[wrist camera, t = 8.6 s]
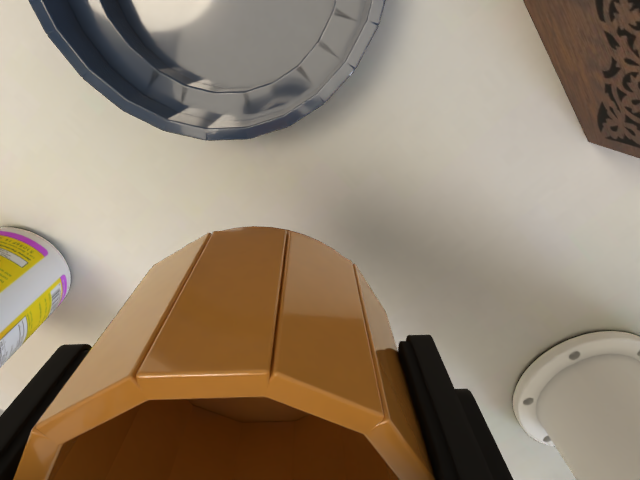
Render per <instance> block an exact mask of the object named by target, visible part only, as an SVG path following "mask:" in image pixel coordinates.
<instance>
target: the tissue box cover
mask: <svg viewBox="0 0 640 480" xmlns="http://www.w3.org/2000/svg"><path fill="white" fill-rule="evenodd" d="M524 3H525V5H526V7H527V9H528V11H529V13H530V16H531V18H532V20H533V22H534V24H535V27H536V29H537V31H538V33H539V35H540V37H541V40H542V42H543V44H544V46H545V48H546V50H547V53H548V55H549V57H550V59H551V61H552V63H553V66H554V68H555V70H556V72H557V74H558V76H559V79H560V81H561V83H562V85H563V87H564V89H565V92H566V94H567V96H568V98H569V100H570V102H571V105H572V107H573V109H574V111H575V113H576V115H577V118H578V120H579V122H580V124H581V126H582V128H583V131H584V133H585V135H586V137H587V139H588V141H589V142H591V143H594V144H597V145H600V146H604V147H607V148H610V149H613V150H616V151H619V152H622V153H625V154H628V155H631V156H634V157H638V158H640V0H524Z"/></svg>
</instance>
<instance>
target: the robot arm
mask: <svg viewBox="0 0 640 480" xmlns="http://www.w3.org/2000/svg"><path fill="white" fill-rule="evenodd" d="M91 348H92V347H91V346H90V345H88V344H75V345H62V346H61V347H59V348H58V349H57V350H56V352H55V353H54V354H53V355H52V356H51V357H50V359H49V360H48V361H47V362H46V363H45V365H44V366H43V367H42V368H41V369H40V370H39V372H38V373H37V374H36V375H35V376H34V377H33V379H32V380H31V381H30V382H29V383H28V385H27V386H26V387H25V388H24V389H23V390H22V392H21V393H20V394H19V395H18V396H17V397H16V399H15V400H14V401H13V402H12V403H11V405H10V406H9V407H8V408H7V409H6V410H5V412H4V413H3V414H2V415H1V416H0V480H13V478H14V475H15V473H16V470H17V467H18V464H19V462H20V459H21V456H22V454H23V451H24V448H25V445H26V443H27V440H28V437H29V435H30V432H31V429H32V428H33V427H34V425H35V424H36V423H37V421H38V420H39V419H40V417H41V416H42V415H43V413H44V412H45V411H46V409H47V408H48V406H49V405H50V404H51V402H52V401H53V400H54V398H55V397H56V396H57V394H58V393H59V392H60V390H61V389H62V388H63V386H64V385H65V384H66V382H67V381H68V379H69V378H70V377H71V375H72V374H73V373H74V371H75V370H76V369H77V367H78V366H79V365H80V363H81V362H82V361H83V359H84V358H85V356H86V355H87V354H88V352H89V351H90V350H91ZM398 354H399V357H400V361H401V364H402V367H403V371H404V374H405V377H406V381H407V384H408V388H409V391H410V394H411V398H412V401H413V404H414V408H415V411H416V414H417V418H418V421H419V424H420V428H421V431H422V434H423V438H424V441H425V444H426V448H427V451H428V454H429V458H430V461H431V464H432V468H433V471H434V474H435V478H436V480H513V478H512V476H511V474H510V472H509V470H508V467H507V465H506V463H505V461H504V459H503V457H502V455H501V453H500V451H499V449H498V447H497V445H496V442H495V440H494V438H493V436H492V434H491V432H490V430H489V428H488V426H487V424H486V422H485V419H484V417H483V415H482V413H481V411H480V409H479V407H478V405H477V403H476V401H475V399H474V397H473V395H472V393H471V392H470V391H469V390H468V389H454V387H453V384H452V382H451V380H450V378H449V375H448V373H447V371H446V368H445V366H444V364H443V361H442V359H441V357H440V354H439V352H438V350H437V348H436V345H435V343H434V341H433V338H432V337H431V336H430V335H408V336H407V338H406V341H401V342H399V348H398ZM513 410H514V414H515V416H516V418H517V420H518V422H519V424H520V426H521V427H522V428H523V430H524V431H525V432H526V434H527V435H529V436H530V437H531V438H533V439H534V440H536V441H538V442H540V443H542V444H545V445H549V446H554V447H556V448H557V450H558V451H559V453H560V454H561V456H562V458H563V459H564V461H565V462H566V464H567V465H568V467H569V469H570V470H571V472H572V473H573V475H574V476H575V478H576V480H640V336H637V335H634V334H630V333H627V332H618V331H602V332H595V333H590V334H584V335H581V336H578V337H575V338H572V339H569V340H567V341H565V342H563V343H561V344H559V345H556V346H554V347H553V348H551V349H550V350H548V351H547V352H545V353H544V354H542V355H541V356H540V357H539V358H538V359H537V360H535V361H534V362H533V363H532V364H531V365H530V366H529V367H528V369H527V370H526V371H525V372H524V374H523V375H522V377H521V378H520V380H519V382H518V384H517V385H516V389H515V392H514V395H513Z"/></svg>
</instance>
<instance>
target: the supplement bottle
mask: <svg viewBox="0 0 640 480" xmlns="http://www.w3.org/2000/svg"><path fill="white" fill-rule="evenodd" d="M70 283H71V275H70V270H69V267H68V265H67V263H66V261H65V259H64V258H63V256H62V255H61V253H60V252H59V251H58V250H57V249H56V248H55V247H54V246H53V245H52V244H51V243H50V242H48V241H47V240H45V239H44V238H42V237H41V236H39V235H37V234H35V233H32V232H30V231H27V230H23V229H19V228H11V227H0V367H1V366H2V365H3V364H4V363H5V362H6V361H7V360H8V359H9V358H10V357H11V356H12V355H13V354H14V353H15V352H16V350H17V349H18V348H19V347H20V346H21V345H22V344H23V343H24V342H25V341H26V340H27V339H28V338H29V337H30V336H31V335H32V334H33V332H34V331H35V330H36V329H37V328H38V327H39V326H40V325H41V324H42V323H43V322H44V321H45V320H46V319H47V318H48V317H49V316H50V314H51V313H52V312H53V311H54V310H55V309H56V308H57V307H58V306H59V305H60V303H61V302H62V301H63V300H64V298H65V297H66V295H67V294H68V291H69V288H70Z"/></svg>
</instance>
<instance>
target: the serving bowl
mask: <svg viewBox="0 0 640 480" xmlns="http://www.w3.org/2000/svg"><path fill="white" fill-rule="evenodd" d="M29 2H30V4H31V6H32V8H33V10H34V12H35V14H36V16H37V17H38V19H39V21H40V23H41V25H42V27H43V29H44V31H45V32H46V34H48V37H49V38H50V39H51V41H52V42H53V43H54V44H55V45H56V47H57V48H58V49H59V50H60V52H61V53H62V54H63V55H64V56H65V58H66V59H67V60H68V61H69V62H70V64H71V65H72V66H73V67H74V69H75V70H76V71H77V72H78V73H79V75H80V76H81V77H83V79H84V80H85V81H86V82H88V83H89V84H90V85H91V86H93V87H94V88H95V89H96V90H98V91H99V92H100V93H101V94H103V95H104V96H105V97H106V98H108V99H109V100H110V101H111V102H113V103H114V104H115V105H116V106H117V107H119V108H120V109H122V110H123V111H124V112H126V113H128V114H130V115H133V116H135V117H137V118H139V119H141V120H143V121H145V122H147V123H149V124H151V125H153V126H155V127H157V128H159V129H161V130H163V131H166V132H171V133H175V134H179V135H184V136H188V137H193V138H197V139H202V140H208V141H214V140H242V139H252V138H255V137H258V136H261V135H264V134H268V133H271V132H274V131H277V130H280V129H283V128H287V127H288V126H291V125H292V124H294V123H295V122H297V121H299V120H300V119H302V118H303V117H305V116H306V115H308V114H309V113H311V112H312V111H314V110H316V109H317V108H319V107H320V106H322V105H323V104H324V103H326V102H327V101H328V99H329V98H330V97H331V96H332V95H333V94H334V93H335V92H336V91H337V89H338V88H339V87H340V86H341V85H342V84H343V83H344V82H345V81H346V79H347V78H348V77H349V76H350V75H351V74H352V73H353V72H354V70H355V69H356V67H357V66H358V64H359V62H360V60H361V58H362V56H363V54H364V52H365V51H366V49H367V47H368V45H369V43H370V41H371V39H372V37H373V35H374V34H375V32H376V30H377V28H378V25H379V23H380V19H381V16H382V12H383V8H384V4H385V0H29Z"/></svg>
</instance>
